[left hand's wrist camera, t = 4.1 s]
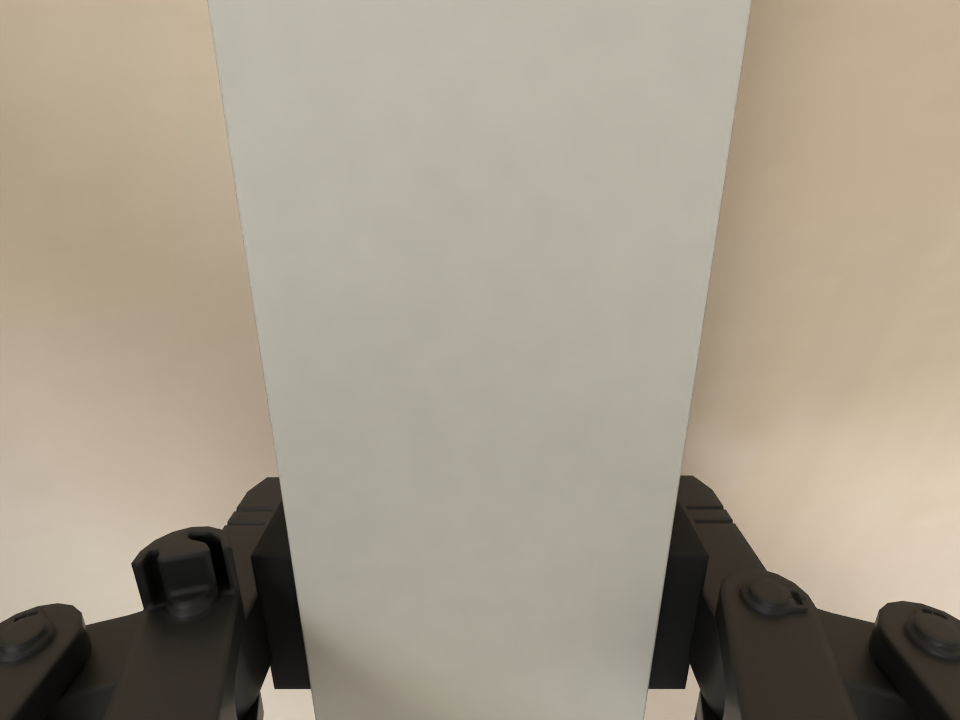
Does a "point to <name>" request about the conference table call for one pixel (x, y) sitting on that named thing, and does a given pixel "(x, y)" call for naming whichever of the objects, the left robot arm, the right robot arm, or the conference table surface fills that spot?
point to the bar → (479, 330)
